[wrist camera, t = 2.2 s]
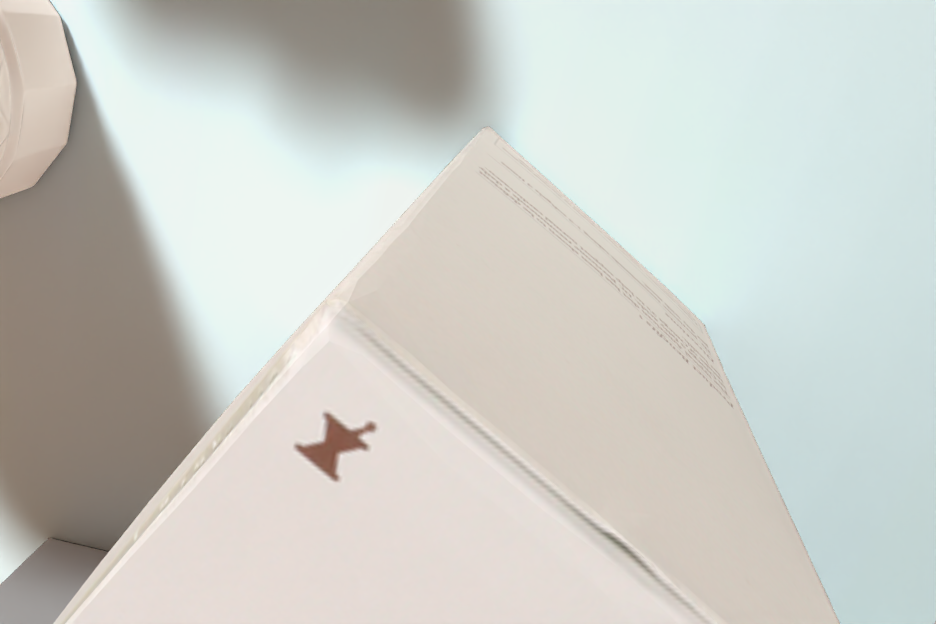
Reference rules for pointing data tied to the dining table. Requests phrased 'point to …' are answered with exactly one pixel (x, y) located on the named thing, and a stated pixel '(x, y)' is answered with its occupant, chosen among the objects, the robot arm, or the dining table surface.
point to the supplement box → (474, 447)
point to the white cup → (32, 92)
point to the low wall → (46, 582)
